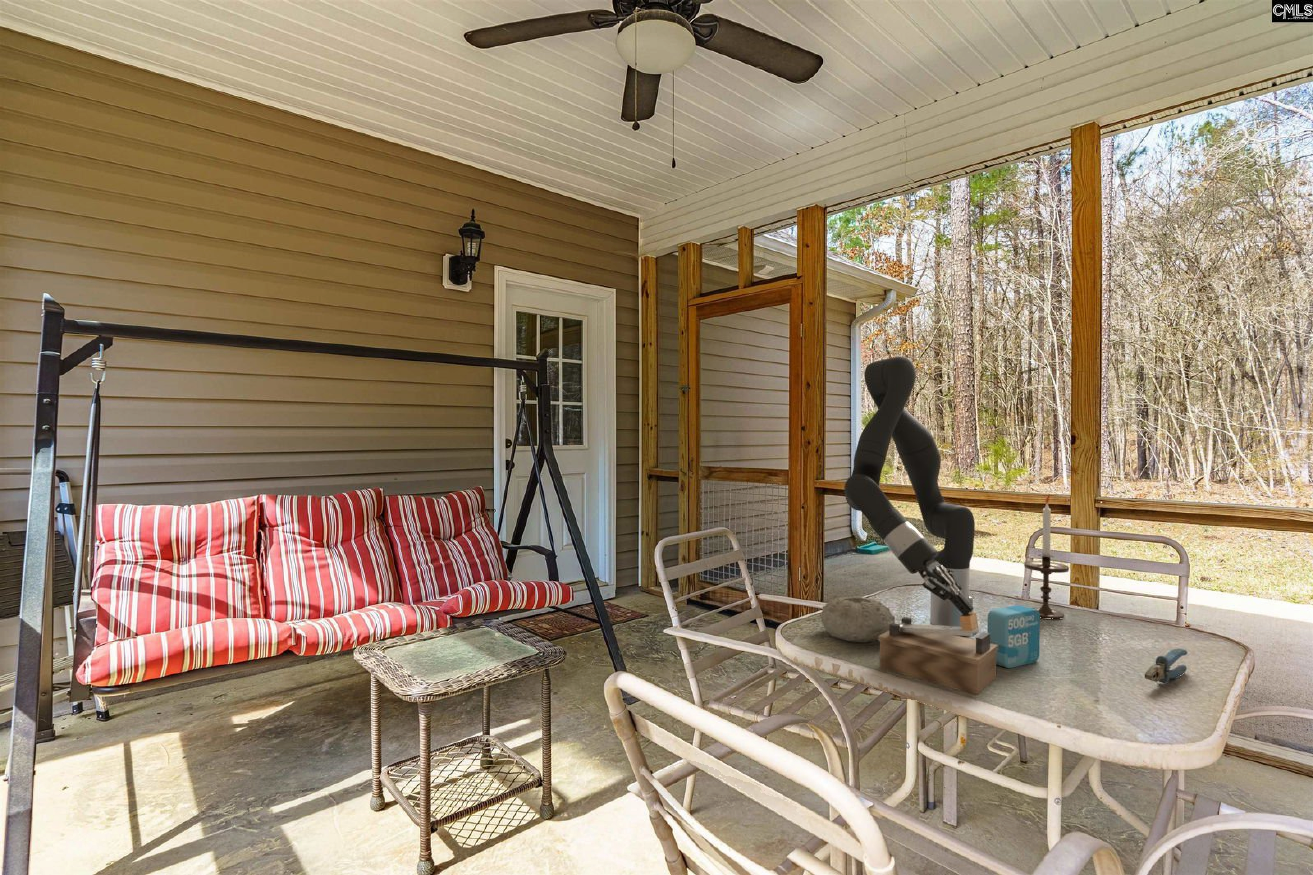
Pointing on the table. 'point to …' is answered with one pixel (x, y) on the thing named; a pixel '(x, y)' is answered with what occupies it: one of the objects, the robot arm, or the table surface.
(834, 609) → the grey rounded stone lump
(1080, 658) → the table surface
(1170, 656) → the pliers
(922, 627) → the latch bar
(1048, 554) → the candlestick
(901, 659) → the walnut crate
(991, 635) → the data package
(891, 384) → the robot arm
